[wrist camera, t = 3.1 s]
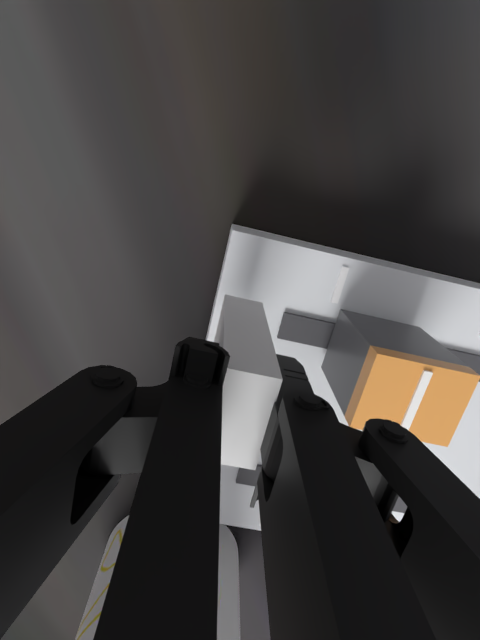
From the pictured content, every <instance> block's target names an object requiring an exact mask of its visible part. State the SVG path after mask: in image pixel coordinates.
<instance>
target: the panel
mask: <svg viewBox="0 0 480 640" xmlns="http://www.w3.org/2000/svg"><path fill="white" fill-rule="evenodd" d="M225 294H226V295H231V296H235V297H240V298H244V299H249V300H253V301H257V302H262V303H263V307H264V311H265V315H266V318H267V322H268V326H269V330H270V333H271V337H272V341H273V345H274V348H275V352H276V354H279V355H284V356H288V357H293V358H295V359H296V360H297V361H299V362H300V363H301V364H302V365H303V367H304V369H305V372H306V375H307V377H308V379H309V380H308V381H309V382H310V384H311V387H312V390H313V392H314V394H315V395H317V396H319V397H321V398H323V399H324V400H326V401H327V402H328V403H329V404H330V405H331V406H332V408H333V409H334V411H335V414H336V416H337V418H338V420H339V422H340V423H342V424H344V425H347V426H349V425H348V423H347V421H346V419H345V417H344V415H343V413H342V410H341V408H340V406H339V404H338V402H337V400H336V398H335V396H334V394H333V392H332V389H331V387H330V385H329V383H328V381H327V379H326V377H325V375H324V373H323V370H322V368H321V366H322V363H323V360H324V357H325V354H326V351H327V348H328V345H329V342H330V339H331V336H332V333H333V330H334V327H335V324H336V321H337V318H338V315H339V312H340V309H343V310H347V311H352V312H356V313H360V314H365V315H369V316H374V317H378V318H383V319H387V320H391V321H396V322H400V323H405V324H409V325H414V326H418V327H420V328H421V329H423V330H424V331H425V332H426V333H428V334H429V335H430V336H431V337H433V338H434V339H435V340H436V341H438V342H439V343H440V344H441V345H443V346H444V347H445V348H446V349H448V350H449V351H450V352H451V353H453V354H454V355H455V356H456V357H458V358H459V359H460V360H461V361H463V362H464V363H465V364H466V365H468V366H469V367H470V368H471V369H473V370H474V371H475V372H476V373H478V374H479V375H480V283H477V282H473V281H468V280H464V279H460V278H456V277H452V276H448V275H443V274H439V273H435V272H431V271H427V270H423V269H419V268H414V267H410V266H406V265H402V264H398V263H394V262H389V261H385V260H381V259H377V258H373V257H369V256H365V255H360V254H356V253H352V252H348V251H344V250H340V249H335V248H331V247H327V246H323V245H319V244H315V243H310V242H306V241H302V240H298V239H294V238H290V237H286V236H281V235H277V234H273V233H269V232H265V231H261V230H256V229H252V228H248V227H244V226H240V225H236V224H232V225H231V230H230V234H229V238H228V243H227V247H226V252H225V256H224V260H223V265H222V269H221V274H220V278H219V282H218V287H217V291H216V296H215V300H214V304H213V309H212V313H211V317H210V322H209V326H208V331H207V335H206V339H205V340H207V341H212V342H214V339H215V335H216V331H217V326H218V322H219V318H220V314H221V309H222V305H223V301H224V296H225ZM357 430H359V429H357ZM360 431H363V430H360ZM422 443H423V444H424V445H425V446H426V447H427V448H428V449H429V450H430V451H431V452H432V453H433V454H434V455H435V456H437V457H438V458H439V459H440V460H441V461H442V462H443V463H444V464H445V465H446V466H447V467H448V468H449V469H450V470H451V471H452V472H453V473H454V474H455V475H456V476H457V477H458V478H459V479H460V480H461V481H462V482H463V483H464V484H465V485H466V486H467V487H468V488H469V489H470V490H471V491H472V492H473V493H474V494H475V495H476V496H477V497H479V498H480V379H479V382H478V384H477V386H476V388H475V390H474V392H473V394H472V396H471V399H470V401H469V403H468V405H467V407H466V409H465V411H464V413H463V416H462V418H461V420H460V422H459V424H458V426H457V428H456V430H455V433H454V435H453V437H452V439H451V441H450V443H449V445H448V447H445V446H440V445H435V444H430V443H425V442H422ZM261 466H262V460H261V454H260V457H259V460H258V464H257V467H256V470H251V469H245V468H240V467H234V466H229V465H223V464H221V480H220V523H219V524H224V525H230V526H236V527H242V528H248V529H254V530H260V531H261V523H260V512H259V500H257V501H256V503H255V506H254V508H251V507H250V503H251V499H252V496H253V493H254V489H255V486H256V483H257V479H258V476H259V473H260V470H261ZM406 509H407V505H406V504H405V503H404V502H403V500H402V499H401V498H400V497H398V499H397V502H396V504H395V506H394V508H393V511H392V514H393V516H394V517H395V518H396V520H398V521H399V522H400V521H401V520H402V518H403V515H404V513H405V511H406Z"/></svg>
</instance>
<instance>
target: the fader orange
mask: <svg viewBox="0 0 480 640" xmlns="http://www.w3.org/2000/svg"><path fill="white" fill-rule="evenodd" d="M321 368H322V370H323V373H324V375H325V377H326V379H327V381H328V383H329V385H330V387H331V389H332V392H333V394H334V396H335V398H336V400H337V402H338V404H339V406H340V408H341V410H342V413H343V415H344V417H345V419H346V421H347V423H348V425H349V427H352V428H355V429H359V430H363V428H364V425H365V423H366V421H368V420H369V419H375V418H379V419H384V420H385V419H388V420H391V421H392V422H393V421H394V422H396V423H398V424H400V426H402V427H404V428H406V429H407V430H409V431H410V432H411V433H412V434H414V435H415V436H416V437H417V438H418V439H419V440H420V441H421V442H425V443H430V444H435V445H440V446H445V447H448V445H449V443H450V441H451V439H452V437H453V435H454V433H455V430H456V428H457V426H458V424H459V422H460V420H461V418H462V416H463V413H464V411H465V409H466V407H467V405H468V403H469V401H470V399H471V396H472V394H473V392H474V390H475V388H476V386H477V384H478V382H479V379H480V375H479V374H478V373H476V372H475V371H474V370H473V369H471V368H470V367H469V366H468V365H466V364H465V363H464V362H463V361H461V360H460V359H459V358H458V357H456V356H455V355H454V354H453V353H451V352H450V351H449V350H448V349H446V348H445V347H444V346H443V345H441V344H440V343H439V342H438V341H436V340H435V339H434V338H433V337H431V336H430V335H429V334H428V333H426V332H425V331H424V330H423V329H421V328H420V327H418V326H414V325H409V324H405V323H400V322H396V321H391V320H387V319H383V318H378V317H374V316H369V315H365V314H360V313H356V312H352V311H347V310H343V309H340V312H339V315H338V318H337V321H336V324H335V327H334V330H333V333H332V336H331V339H330V342H329V345H328V348H327V351H326V354H325V357H324V360H323V363H322V366H321Z"/></svg>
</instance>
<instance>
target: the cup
mask: <svg viewBox="0 0 480 640" xmlns="http://www.w3.org/2000/svg"><path fill="white" fill-rule="evenodd" d="M128 518H129V515H128V516H127V517H125V518H124V519H123V520H122V521H121V522H120V523H119V524H118V525H117V526H116V527H115V528H114V530H113V531H112V533H111V535H110V537H109V540H108V543H107V546H106V549H105V552H104V555H103V558H102V561H101V564H100V567H99V570H98V573H97V576H96V579H95V582H94V585H93V588H92V591H91V594H90V597H89V600H88V603H87V606H86V609H85V612H84V615H83V618H82V621H81V624H80V627H79V630H78V633H77V636H76V639H75V640H93V638H94V635H95V632H96V628H97V625H98V621H99V618H100V614H101V611H102V607H103V604H104V600H105V597H106V594H107V590H108V587H109V583H110V580H111V576H112V573H113V569H114V566H115V563H116V559H117V556H118V552H119V549H120V545H121V542H122V538H123V535H124V532H125V528H126V525H127V521H128ZM217 640H240V602H239V558H238V547H237V543H236V540H235V538H234V536H233V534H232V533H231V531H230V530H229V528H228V527H227V526H226V525H224V524H219V566H218V610H217Z"/></svg>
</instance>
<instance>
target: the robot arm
mask: <svg viewBox="0 0 480 640" xmlns="http://www.w3.org/2000/svg"><path fill="white" fill-rule="evenodd" d="M308 380H309V379H308V377H307V375H306V372H305V369H304V367H303V365H302V364H301V363H300V362H299V361H297V360H296V359H295V358H293V357H288V356H284V355H279V354H276V352H275V348H274V345H273V341H272V337H271V333H270V330H269V326H268V322H267V318H266V315H265V311H264V307H263V303H262V302H257V301H253V300H249V299H244V298H240V297H235V296H231V295H226V294H225V296H224V301H223V305H222V309H221V314H220V318H219V322H218V326H217V331H216V335H215V339H214V342H212V341H207V340H202V339H197V338H193V337H188V338H186V339H185V340H183V341H180V342H179V343H178V344H177V345H176V347H175V352H174V357H173V362H172V367H171V371H170V376H169V380H168V381H167V382H166V383H164V384H161V385H158V386H153V387H137V381H136V378H135V377H134V376H133V375H132V374H131V373H130V372H127V371H125V370H123V369H121V368H116V367H114V366H108V365H107V366H106V365H100V366H95V367H88V368H86V369H84V370H81V371H80V372H78V373H77V374H75V375H74V376H72V377H71V378H69V379H68V380H66V381H65V382H63V383H62V384H60V385H59V386H57V387H56V388H54V389H53V390H52V391H50V392H49V393H47V394H46V395H44V396H43V397H41V398H40V399H38V400H37V401H35V402H34V403H32V404H31V405H29V406H28V407H26V408H25V409H23V410H22V411H20V412H19V413H18V414H16V415H15V416H13V417H12V418H10V419H9V420H7V421H6V422H4V423H3V424H1V425H0V639H1V638H2V636H3V635H4V634H5V632H6V631H7V630H8V628H9V627H10V626H11V624H12V623H13V622H14V620H15V619H16V618H17V617H18V615H19V614H20V613H21V611H22V610H23V609H24V607H25V606H26V605H27V603H28V602H29V601H30V599H31V598H32V597H33V595H34V594H35V593H36V591H37V590H38V589H39V587H40V586H41V585H42V583H43V582H44V581H45V579H46V578H47V577H48V575H49V574H50V573H51V571H52V570H53V569H54V567H55V566H56V565H57V564H58V562H59V561H60V560H61V558H62V557H63V556H64V554H65V553H66V552H67V550H68V549H69V548H70V546H71V545H72V544H73V542H74V541H75V540H76V538H77V537H78V536H79V534H80V533H81V532H82V530H83V529H84V528H85V526H86V525H87V524H88V522H89V521H90V520H91V518H92V517H93V516H94V514H95V513H96V512H97V511H98V509H99V508H100V507H101V505H102V504H103V503H104V501H105V500H106V499H107V497H108V496H109V495H110V493H111V492H112V491H113V489H114V488H115V487H116V485H117V484H118V482H119V479H120V477H121V474H131V473H141V476H140V480H139V483H138V487H137V490H136V494H135V497H134V500H133V504H132V507H131V511H130V514H129V518H128V521H127V525H126V528H125V532H124V535H123V538H122V542H121V545H120V549H119V552H118V556H117V559H116V563H115V566H114V569H113V573H112V576H111V580H110V583H109V587H108V590H107V594H106V597H105V600H104V604H103V607H102V611H101V614H100V618H99V621H98V625H97V628H96V632H95V635H94V638H93V640H217V610H218V566H219V523H220V480H221V464H223V465H229V466H234V467H240V468H245V469H251V470H256V467H257V464H258V460H259V457H260V454H261V460H262V466H261V470H260V473H259V476H258V479H257V483H256V486H255V489H254V493H253V496H252V499H251V503H250V507H251V508H254V506H255V503H256V501H257V500H259V512H260V523H261V534H262V546H263V557H264V568H265V580H266V591H267V602H268V614H269V625H270V636H271V640H480V498H479V497H477V496H476V495H475V494H474V493H473V492H472V491H471V490H470V489H469V488H468V487H467V486H466V485H465V484H464V483H463V482H462V481H461V480H460V479H459V478H458V477H457V476H456V475H455V474H454V473H453V472H452V471H451V470H450V469H449V468H448V467H447V466H446V465H445V464H444V463H443V462H442V461H441V460H440V459H439V458H438V457H437V456H435V455H434V454H433V453H432V452H431V451H430V450H429V449H428V448H427V447H426V446H425V445H424V444H423V443H422V442H421V441H420V440H419V439H418V438H417V437H416V436H415V435H414V434H412V433H411V432H410V431H409V430H407V429H406V428H404V427H402V426H400V424H398V423H396V422H394V421H393V422H392V421H391V420H388V419H385V420H384V419H379V418H375V419H369V420H368V421H366V423H365V425H364V428H363V431H360V430H357V429H355V428H352V427H349V426H347V425H344V424H342V423H340V422H339V420H338V418H337V416H336V414H335V411H334V409H333V408H332V406H331V405H330V404H329V403H328V402H327V401H326V400H324V399H323V398H321V397H319V396H317V395H315V394H314V392H313V390H312V387H311V384H310V382H309V381H308ZM398 497H400V498H401V499H402V500H403V502H404V503H405V504H406V505H407V509H406V511H405V513H404V515H403V518H402V520H401V521H400V522H399V521H398V520H396V518H395V517H394V516H393V514H392V511H393V508H394V506H395V504H396V502H397V499H398Z"/></svg>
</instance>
